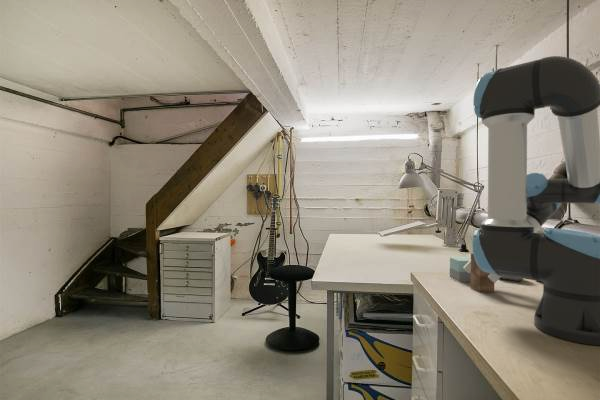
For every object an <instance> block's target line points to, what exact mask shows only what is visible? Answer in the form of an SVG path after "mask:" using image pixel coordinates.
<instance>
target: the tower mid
mask: <svg viewBox="0 0 600 400" xmlns="http://www.w3.org/2000/svg"><path fill="white" fill-rule="evenodd" d="M470 260H471V257H468V256H467V257H461V256H459V257H458V256H457V257H451V256H450V257H449V269H450V268H452V269H454V270H456V271H458V272H467V271H466V270H465V269H464V268H463V267H464V266H465V265H466V264H467V263H468V262H469V261H470Z"/></svg>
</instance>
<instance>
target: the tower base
mask: <svg viewBox="0 0 600 400" xmlns="http://www.w3.org/2000/svg"><path fill="white" fill-rule="evenodd" d="M450 277H451V278H450ZM449 278H450V279H452V278H453V280H454V279H455V280H454V281H456V280H457V282H458V281H459V282H458V283H471V272H470V273H468V272H458V271H456V270H454V269H452V268H450V267H449Z"/></svg>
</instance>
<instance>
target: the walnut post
mask: <svg viewBox="0 0 600 400" xmlns="http://www.w3.org/2000/svg"><path fill="white" fill-rule="evenodd" d="M470 258H471V282H470V289H471V290H473V291H476V292H477V293H482V294H483V293H495V283H493V282H492V281H491V280H490V279H489V278H488V276H489V275H490V273H486V272H484V271H482V270H481V269H480V268H479V267H478V265H477V263H476V261H475V258H474V254H473V252H472V253H470Z"/></svg>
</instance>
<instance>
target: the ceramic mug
mask: <svg viewBox="0 0 600 400" xmlns="http://www.w3.org/2000/svg"><path fill="white" fill-rule="evenodd" d="M501 278H502V280H508V279H509V280H508V281H513V282H514V281H515V282H516V281H517V282H520V281H523V278H516V277H510V276H503V275H502V276H501V277H500V278H499V279H501Z"/></svg>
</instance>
